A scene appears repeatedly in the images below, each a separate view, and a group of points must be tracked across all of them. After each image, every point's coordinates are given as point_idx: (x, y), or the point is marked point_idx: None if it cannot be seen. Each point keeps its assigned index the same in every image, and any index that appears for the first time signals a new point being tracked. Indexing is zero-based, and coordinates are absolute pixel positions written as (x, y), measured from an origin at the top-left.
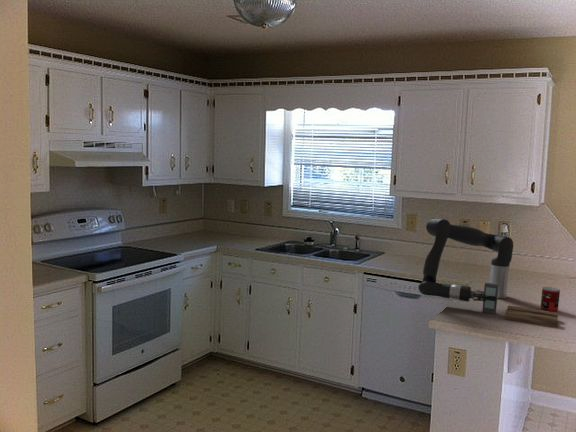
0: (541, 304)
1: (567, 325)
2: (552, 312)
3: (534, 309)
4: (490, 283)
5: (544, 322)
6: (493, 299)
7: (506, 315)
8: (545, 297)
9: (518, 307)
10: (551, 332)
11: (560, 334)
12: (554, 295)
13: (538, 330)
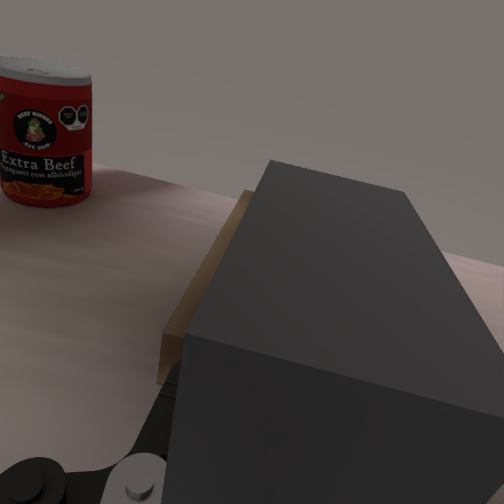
0: (35, 180)
1: None
2: (249, 199)
3: (222, 232)
4: (260, 228)
5: None
6: None
7: None
8: (64, 131)
9: (205, 284)
10: (466, 288)
11: (463, 272)
12: (91, 105)
13: (489, 323)
